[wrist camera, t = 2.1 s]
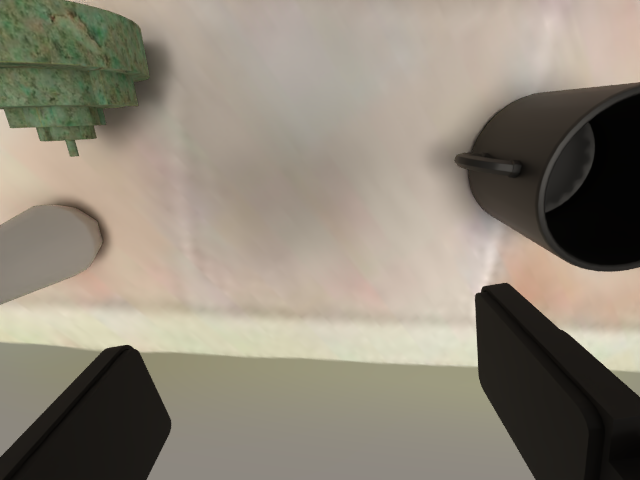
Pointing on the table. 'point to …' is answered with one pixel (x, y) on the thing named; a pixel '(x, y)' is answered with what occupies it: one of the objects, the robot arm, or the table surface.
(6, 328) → the table surface
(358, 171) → the table surface
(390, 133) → the table surface
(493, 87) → the table surface
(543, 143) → the mug
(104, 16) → the decorative artifact
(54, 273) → the salt shaker
